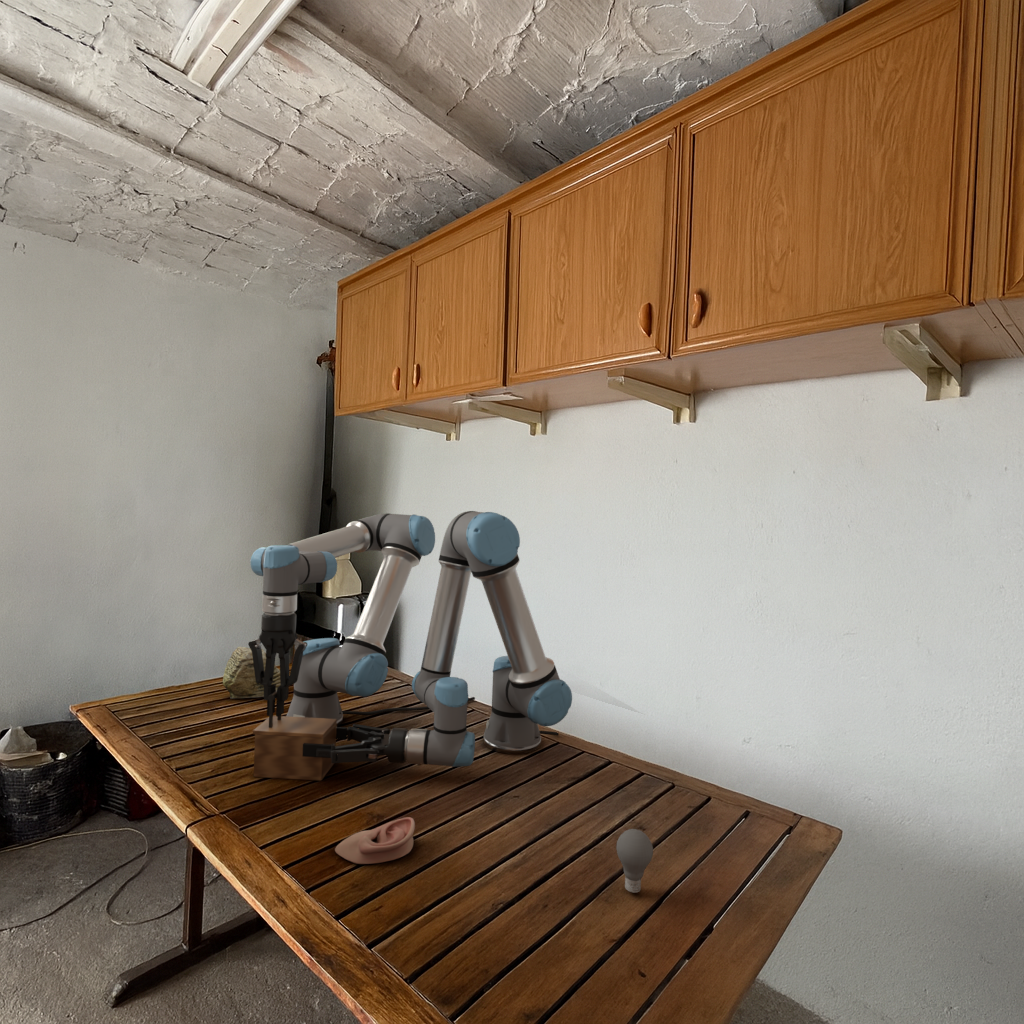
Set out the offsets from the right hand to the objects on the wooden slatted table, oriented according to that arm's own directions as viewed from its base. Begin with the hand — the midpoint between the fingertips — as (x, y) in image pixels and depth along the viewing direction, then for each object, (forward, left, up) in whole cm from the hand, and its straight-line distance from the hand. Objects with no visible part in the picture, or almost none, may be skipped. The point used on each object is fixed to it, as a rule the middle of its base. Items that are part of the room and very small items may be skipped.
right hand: (311, 740), depth 146 cm
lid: (+3, -2, +3) cm, 5 cm away
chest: (+3, -1, -7) cm, 8 cm away
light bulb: (-45, +64, -7) cm, 78 cm away
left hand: (+8, -4, +6) cm, 10 cm away
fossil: (+11, -61, -7) cm, 62 cm away
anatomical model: (-8, +37, -7) cm, 39 cm away
